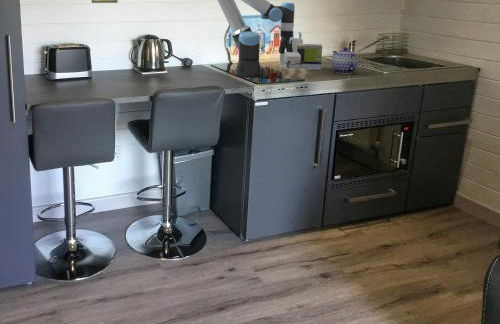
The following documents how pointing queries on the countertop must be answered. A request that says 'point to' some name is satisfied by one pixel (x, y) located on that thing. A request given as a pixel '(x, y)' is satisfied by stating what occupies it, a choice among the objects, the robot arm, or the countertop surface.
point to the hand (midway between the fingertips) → (285, 66)
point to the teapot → (344, 61)
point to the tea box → (310, 56)
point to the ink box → (291, 60)
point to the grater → (296, 42)
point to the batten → (296, 73)
